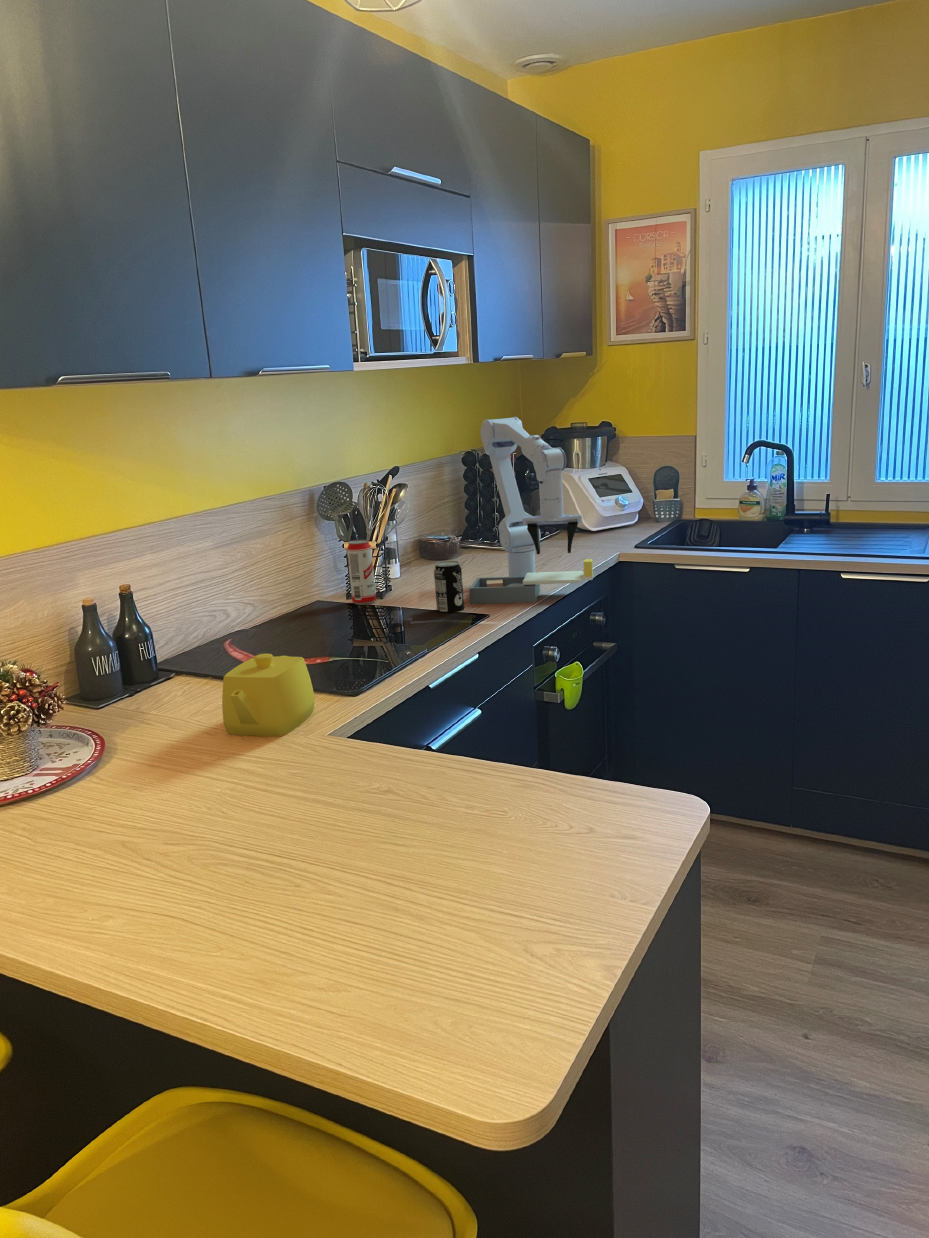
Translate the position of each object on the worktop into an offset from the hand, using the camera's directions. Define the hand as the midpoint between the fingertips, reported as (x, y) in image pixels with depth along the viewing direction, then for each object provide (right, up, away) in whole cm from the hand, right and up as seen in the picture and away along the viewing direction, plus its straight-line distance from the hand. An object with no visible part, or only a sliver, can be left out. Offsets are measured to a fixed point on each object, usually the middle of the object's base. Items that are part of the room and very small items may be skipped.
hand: (553, 552), depth 226 cm
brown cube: (-9, -12, -3) cm, 15 cm away
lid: (+1, -7, -4) cm, 8 cm away
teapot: (-55, -34, -74) cm, 98 cm away
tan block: (-15, -10, +3) cm, 18 cm away
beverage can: (-26, -15, -8) cm, 31 cm away
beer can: (-48, -12, +8) cm, 50 cm away
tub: (-12, -12, 0) cm, 17 cm away
